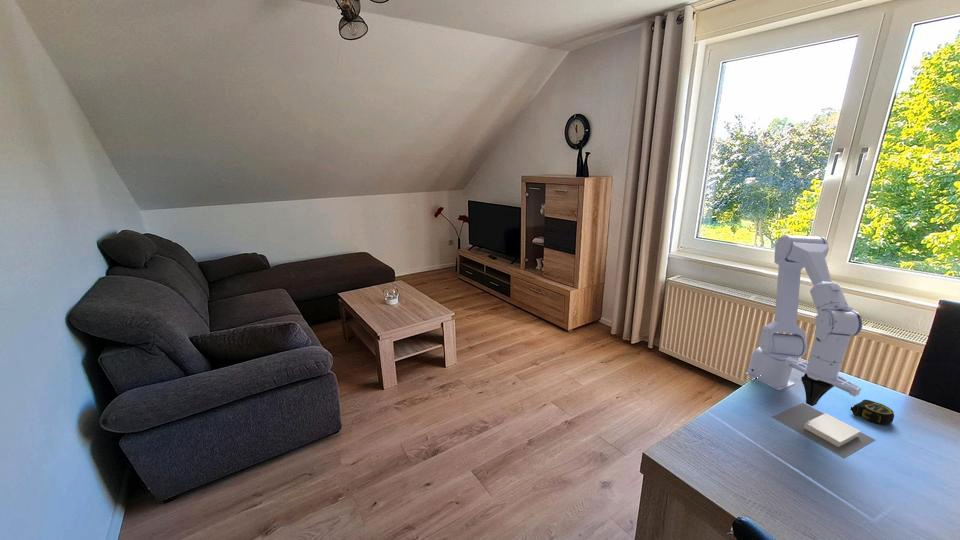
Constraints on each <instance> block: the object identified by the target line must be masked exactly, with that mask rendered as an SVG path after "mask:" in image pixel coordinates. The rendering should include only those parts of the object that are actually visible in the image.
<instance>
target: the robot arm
mask: <svg viewBox="0 0 960 540" xmlns="http://www.w3.org/2000/svg"><path fill="white" fill-rule="evenodd" d="M774 246H775V247H774V261H773V262H774V264H775V265H778V271H777V272H778V273H777V281H776V282H777V285H776V294H775V295H776V297H775V306H774V307H775V309H774V310H775V312H774V320H773V321H772V322H769V323H768V324H766V325H764V326H763V327H762V329H761V333H760V336H759V338H758V345H759V346H758V347H757V348H755V350H754V351H753V353H752V355H751V359H750V361H749V364H748V369H747V372H745V375H747V376H750V377H751V378H753V379H755V378H757V377H758V378H757V379H756V380H757V381H759V382H762V383H763V384H765V385H767V386H769V387H771V388H773V389H775V390H777V391H782V390H784V389H786V388H789V387H791V386H793V385H795V382H794V381H792V380H790V377H791V374H792V370H793V369H794V370H797V371H799V372H801V373H804V375H802V376H801V382H802V383H801V384H802V385H803V388H804V391H805V393H804V394H805V404H806V405H808V406H810V407H814V406H817V404H818V402H819V401H820V399H821V398H822V397H823V396H824V395H825V394H826V393H827V392H828V391H830V390H831V389H833V388H834V387H835V388H837V389H839V390H841V391H843V392H846V393H848V394H849V395H850V396H852V397H854V398H855V397H857V396H859V395H860V393H861V390H862V387H861V386H859V385H857V384H855V383H853V382H851V381H849V380H848V379H845V378H844V377H843V376H840V375H839V374H840V370H841V367H842V364H843V362H844V361H843V360H844V358H845V357H846V356H845V355H846V352H847V349H848V346H849V344H850V341H851V338H852V337H853V336H857V335H859V334H860V333H861V331H862V329H863V326H864V325H863V320H862V316H861V314H860V313H859V312H858V311H856V310H854V308H853V307H851V306H849V304H848V302H847V299H846V298H845V295H844V293H843V290H842V288H841V286H840V285H839V284H838V283H834V282H832V279H831V275H830V270H829V267H828V265H827V264H828V263H827V260H826V257H827V256H828V253H829V248H830V247H829V242H828V240H827V238H826V237H824V236H820V235H819V236H818V235H817V236H811V235H810V236H807V235H789V234H782V235H781V236H780V237H779V238H778V240H777V241H776V243H775V245H774ZM803 269H804V270H805V272H806V273H807V276H808V278H809V280H810V281H811V283H812V285H813V286H812V287H811V288H810V290H809V292H810V296H811V298H812V301H813V303H814V307H815V308H816V309H815V310H816V312H817V315H815V318H814V324H815V329H814V331H813V332H814V336H815V340H814V342H813V345H812V349H811V352H810V355H809V358H808V362H805V361H802V360H799V358H802V357H803V356H805V355H806V353H807V351H808V341H807V333H806V331H805V330H804V329H802V328H801V327H800V326H799V325H798V324H797V323H798V322H797V320H798V312H799V311H798V309H799V298H800V284H801V274H802V270H803ZM760 375H761V376H760Z"/></svg>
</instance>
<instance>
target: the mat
mask: <svg viewBox="0 0 960 540" xmlns="http://www.w3.org/2000/svg"><path fill="white" fill-rule="evenodd" d="M823 414H825V412H821V411H820V410H819V409H816V408H814V407H813V406H810V405H808V404H806V403H804V402H801V403H800V404H797V405H794V406H793V407H791V408H789V409H786V410H784V411H781V412H779V413H777V414H774V415H773V416H771V418H773V419H775V420H776V421H778V422H780V423H781V424H783V425H785V426H787V427H789V428H790V429H792V430H794V431H795V432H797V433H799V434H800V435H803V436H804V437H805V438H808V439H810V440H811V441H813V442H814V443H816V444H818V445H820V446H822V447H823V448H825V449H827V450H828V451H831V452H832V453H834V454H836V455H837V456H839V457H841V458H842V459H846V458H847V457H849V456H851V455H852V454H854V453H856V452H858V451H860V450H861V449H864V447H866V446H868V445H870V444H872V443H873V442H874V441H876V439H875V438H873V437H870V436H869V435H867V434H865V433H863V432H860V434H859V436H858V437H856V438H854V439H852V440H851V441H849V442H847V443H845V444H843V445H842V446H840V447H836V446H834V445H833V444H831V443H829V442H827V441H825V440H824V439H822V438H820V437H818V436H817V435H815V434H813V433H811V432H809V431H808V430H806V429H805V428H804V425H805V423H806V422H808V421H810V420H812V419H814V418H817V417H819V416H821V415H823Z"/></svg>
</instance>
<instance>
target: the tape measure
mask: <svg viewBox="0 0 960 540" xmlns="http://www.w3.org/2000/svg"><path fill="white" fill-rule="evenodd" d="M850 411H851V413H852V414H853V415H854V416H858V417H862V419H864V420H866V421H868V422H871V423H874V424H877V425H885V426H887V425H890V424H891V423H893V421H894V418H895V413H894V410H893V409H891V408H890V407H888V406H887V405H884V404H882V403H880V402H876V401H873V400H869V399H863V400H861V402H858V403H856V404H854V405H853V406H850Z"/></svg>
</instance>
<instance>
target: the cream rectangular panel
mask: <svg viewBox="0 0 960 540" xmlns="http://www.w3.org/2000/svg"><path fill="white" fill-rule="evenodd" d="M804 428H805V429H806V430H808V431H809V432H811V433H813V434H815V435H817V436H818V437H820V438H822V439H824V440H825V441H827V442H829V443H831V444H833V445H834V446H836V447H840V446H842V445H843V444H845V443H847V442H849V441H851V440H852V439H854V438H856V437H858V436H859V434H860V432H861V430H860V429H857V428H856V427H854V426H852V425H850V424H847V423H846V422H844V421H842V420H839V419H837V418H836V417H834V416H832V415H830V414H828V413H826V412H824V414H823V415H821V416H819V417H817V418H814V419H812V420H810V421H808V422H806V423H805V425H804ZM861 433H862V432H861Z"/></svg>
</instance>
